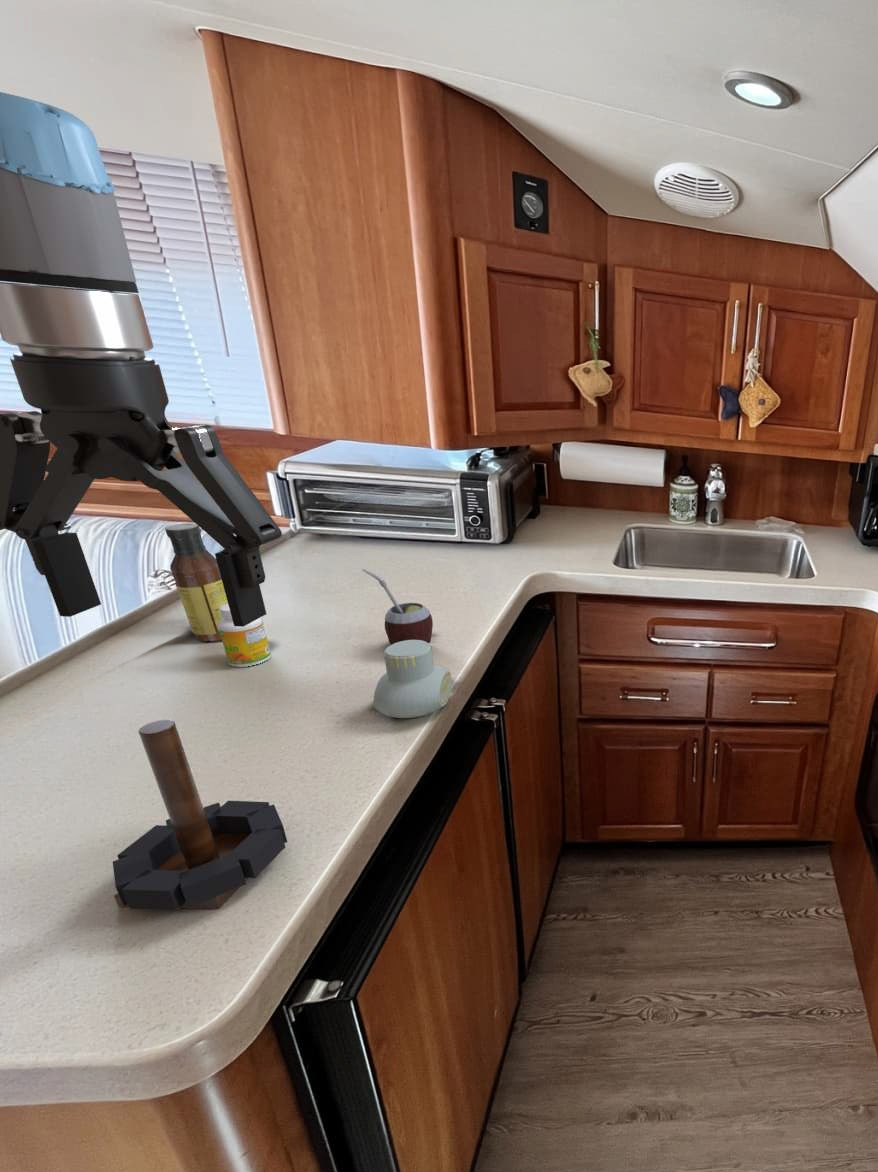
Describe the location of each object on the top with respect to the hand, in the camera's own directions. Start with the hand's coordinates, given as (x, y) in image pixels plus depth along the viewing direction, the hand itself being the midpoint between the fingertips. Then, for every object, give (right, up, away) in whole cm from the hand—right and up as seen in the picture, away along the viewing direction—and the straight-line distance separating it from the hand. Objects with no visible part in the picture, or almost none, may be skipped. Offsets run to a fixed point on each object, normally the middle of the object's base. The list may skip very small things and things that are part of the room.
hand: (167, 615), depth 55 cm
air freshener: (-3, -15, +40) cm, 43 cm away
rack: (-6, -27, +10) cm, 29 cm away
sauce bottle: (-47, -5, +55) cm, 72 cm away
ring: (-5, -25, +10) cm, 27 cm away
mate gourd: (-14, -8, +56) cm, 58 cm away
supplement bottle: (-35, -9, +49) cm, 61 cm away
